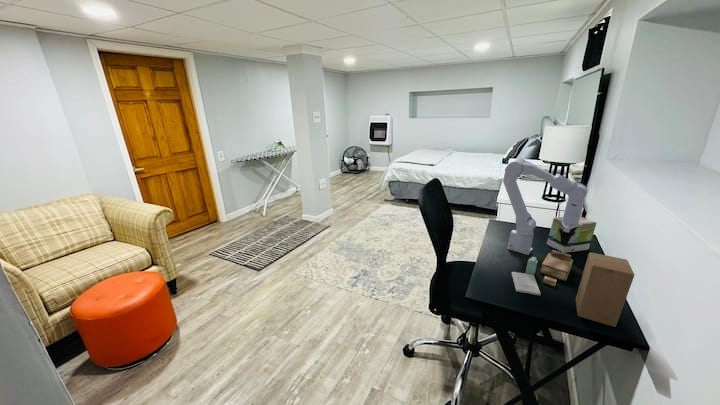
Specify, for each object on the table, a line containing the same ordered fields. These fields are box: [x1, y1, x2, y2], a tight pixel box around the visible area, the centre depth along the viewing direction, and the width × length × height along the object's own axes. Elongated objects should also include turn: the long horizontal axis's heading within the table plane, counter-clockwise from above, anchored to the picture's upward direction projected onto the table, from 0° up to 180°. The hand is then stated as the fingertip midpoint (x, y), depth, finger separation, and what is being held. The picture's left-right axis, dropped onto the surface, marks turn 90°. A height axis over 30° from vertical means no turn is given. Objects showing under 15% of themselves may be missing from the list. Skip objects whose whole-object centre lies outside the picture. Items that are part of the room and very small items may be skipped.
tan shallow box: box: [539, 261, 574, 287], centre depth 118 cm, size 9×19×3 cm, turn 137°
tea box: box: [546, 216, 597, 254], centre depth 137 cm, size 15×10×15 cm, turn 104°
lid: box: [541, 249, 574, 273], centre depth 119 cm, size 9×12×3 cm
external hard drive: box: [511, 271, 541, 296], centre depth 113 cm, size 2×8×12 cm
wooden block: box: [575, 251, 635, 328], centre depth 94 cm, size 10×10×20 cm
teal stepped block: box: [524, 256, 539, 276], centre depth 118 cm, size 3×4×7 cm
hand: (565, 241), depth 124 cm, fingers open, 6 cm apart
